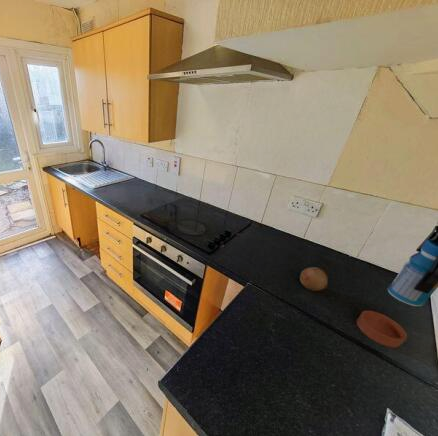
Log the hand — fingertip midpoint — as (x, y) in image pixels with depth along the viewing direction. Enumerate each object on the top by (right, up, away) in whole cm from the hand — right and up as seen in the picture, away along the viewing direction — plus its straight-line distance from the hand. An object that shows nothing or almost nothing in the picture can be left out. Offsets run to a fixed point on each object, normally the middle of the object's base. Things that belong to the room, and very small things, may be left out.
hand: (415, 282), depth 70 cm
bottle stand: (-1, -21, +10) cm, 23 cm away
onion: (-12, -11, +29) cm, 33 cm away
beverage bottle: (0, -6, +3) cm, 7 cm away
